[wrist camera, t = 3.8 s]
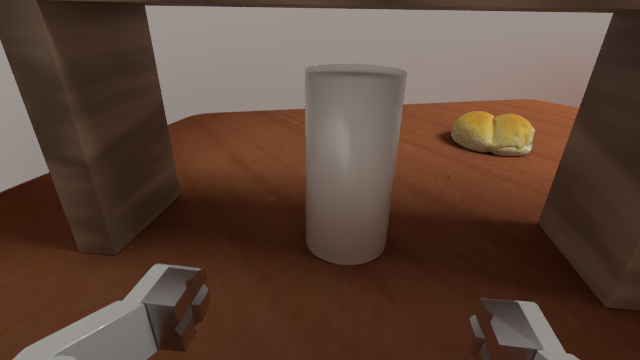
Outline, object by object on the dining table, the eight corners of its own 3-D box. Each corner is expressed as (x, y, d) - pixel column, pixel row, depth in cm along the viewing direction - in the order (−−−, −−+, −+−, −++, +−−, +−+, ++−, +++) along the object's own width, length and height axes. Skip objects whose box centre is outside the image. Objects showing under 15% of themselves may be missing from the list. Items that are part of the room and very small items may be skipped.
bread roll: (456, 130, 46) (462, 101, 44) (531, 143, 42) (541, 111, 40) (441, 148, 40) (447, 114, 38) (528, 165, 36) (539, 128, 34)
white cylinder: (384, 220, 25) (402, 65, 20) (387, 269, 20) (412, 81, 15) (312, 214, 26) (313, 62, 21) (298, 260, 21) (296, 76, 16)
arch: (574, 226, 25) (685, -41, 17) (657, 312, 18) (904, -80, 10) (152, 192, 28) (98, -41, 21) (79, 251, 21) (-41, -70, 14)
